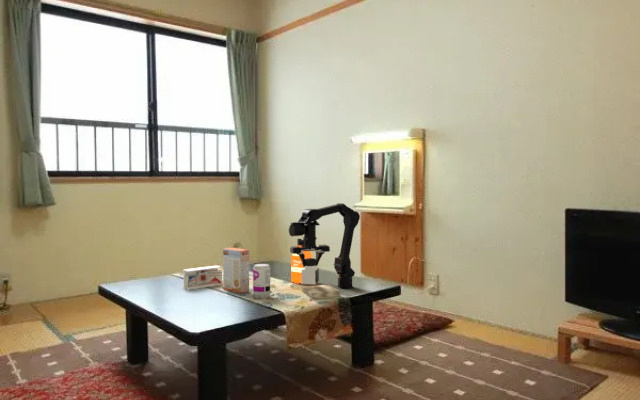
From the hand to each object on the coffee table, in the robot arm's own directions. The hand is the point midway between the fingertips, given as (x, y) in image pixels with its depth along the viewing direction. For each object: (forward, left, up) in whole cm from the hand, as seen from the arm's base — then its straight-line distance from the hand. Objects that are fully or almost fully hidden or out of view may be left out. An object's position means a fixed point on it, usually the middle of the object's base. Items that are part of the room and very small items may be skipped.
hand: (310, 266), depth 242 cm
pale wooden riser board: (-4, +5, -13) cm, 14 cm away
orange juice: (-4, -24, -13) cm, 28 cm away
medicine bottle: (0, 0, -8) cm, 8 cm away
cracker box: (+33, -16, -13) cm, 39 cm away
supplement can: (+24, 0, -13) cm, 28 cm away
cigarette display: (+47, -33, -13) cm, 59 cm away
